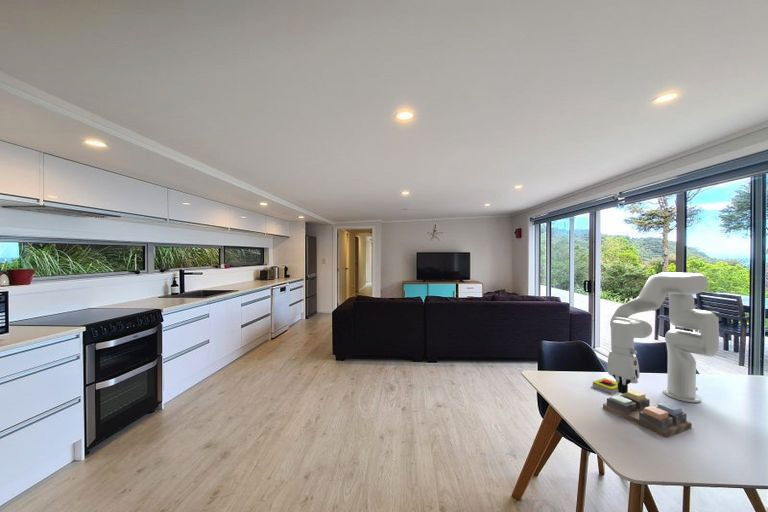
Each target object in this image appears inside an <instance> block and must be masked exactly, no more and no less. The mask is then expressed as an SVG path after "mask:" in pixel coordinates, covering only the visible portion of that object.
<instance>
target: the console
mask: <svg viewBox="0 0 768 512" xmlns="http://www.w3.org/2000/svg"><path fill="white" fill-rule="evenodd" d="M619 396H622V397H624V398H627V399H629V400H632V403H631V404H628V405H623V404H620V403H618V402H616V401H613V400H611V397H612V396H611V397H606V402H605V403H602V409H604V410H606V411H608V412H610V413H612V414H614V415H617V416H619V417H621V418H623V419H625V420H627V421H629V422H631V423H634V424H636V425H638V426H640V427H643V428H644V429H647V430H648V429H649V431H650V432H652V433H653V432H654V433H655V434H657V435H660V436H662V437H664V438H668V437H672V436H674V435H677V434H679V433H683V432H685V431H687V430H689V429H692V425H693V424H692V422H690V421H687V413H686V412H683V411H682V414H680V415H677V416H673V415H671V414H668V419H665V420H662V421H660V420H658V419H656V418H653V417H651V416H649V415H646V414H644V408H645V407H649V406H651V405H650V404H651V403H650V402H651V401H650V399H649V398H646V397H645V400H642V401H636V400H634V399H631V398H629V397H626V396H624V394H622V393H620V395H619ZM656 407H657V408H658V406H656Z"/></svg>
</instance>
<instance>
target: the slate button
mask: <svg viewBox="0 0 768 512" xmlns="http://www.w3.org/2000/svg"><path fill="white" fill-rule="evenodd" d="M657 407H658V408H659V409H662V410H664V411H667V412H668V414H671V415H673V416H677V415H680V414H682V412H683V408H682V407H681V406H678V405H675V404H673V403H670V402H668V401H663V402H660V403H657Z"/></svg>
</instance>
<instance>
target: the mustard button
mask: <svg viewBox="0 0 768 512" xmlns="http://www.w3.org/2000/svg"><path fill="white" fill-rule="evenodd" d="M624 396H626V397H629V398H631V399H634V400H636V401H642V400H645V398H646V393H644V392H640V391H638V390H636V389H633V388H630V389H628V392H627V393H624Z"/></svg>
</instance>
